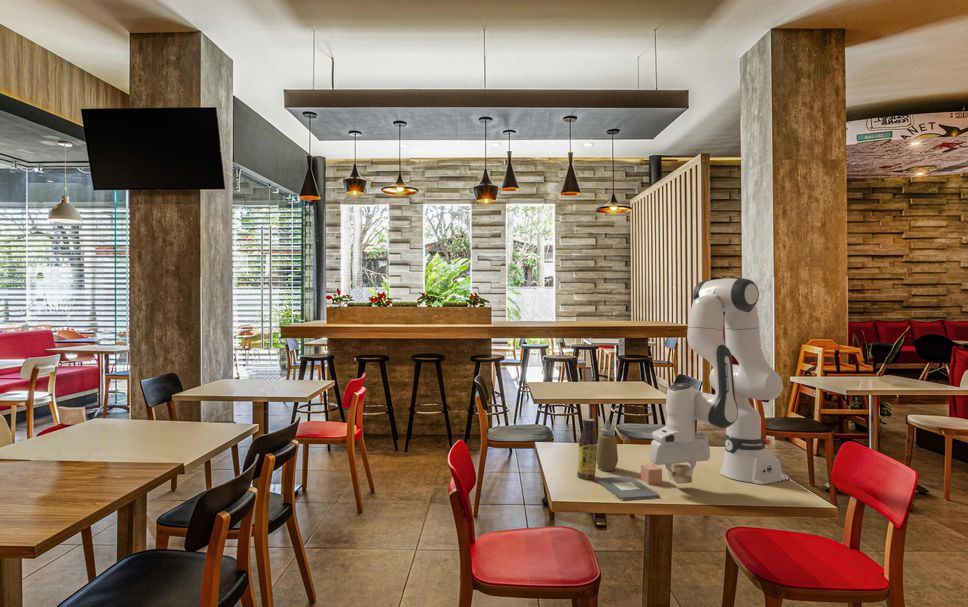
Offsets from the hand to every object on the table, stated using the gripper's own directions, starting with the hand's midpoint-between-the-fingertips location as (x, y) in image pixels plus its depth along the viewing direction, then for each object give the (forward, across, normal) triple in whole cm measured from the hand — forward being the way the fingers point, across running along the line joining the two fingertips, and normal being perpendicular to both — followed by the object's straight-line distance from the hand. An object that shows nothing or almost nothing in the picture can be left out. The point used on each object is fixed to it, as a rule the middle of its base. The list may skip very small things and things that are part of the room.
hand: (680, 475), depth 171 cm
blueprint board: (+4, +18, -3) cm, 19 cm away
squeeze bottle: (+4, +15, -23) cm, 28 cm away
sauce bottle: (+4, +26, -16) cm, 31 cm away
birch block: (+2, 0, 0) cm, 2 cm away
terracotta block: (+4, +6, -8) cm, 11 cm away
